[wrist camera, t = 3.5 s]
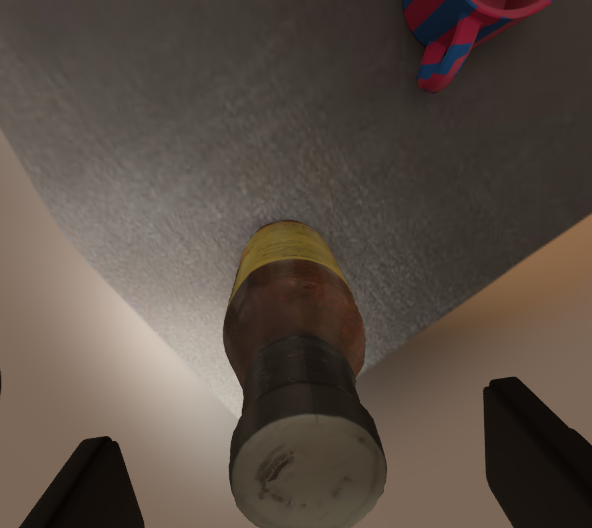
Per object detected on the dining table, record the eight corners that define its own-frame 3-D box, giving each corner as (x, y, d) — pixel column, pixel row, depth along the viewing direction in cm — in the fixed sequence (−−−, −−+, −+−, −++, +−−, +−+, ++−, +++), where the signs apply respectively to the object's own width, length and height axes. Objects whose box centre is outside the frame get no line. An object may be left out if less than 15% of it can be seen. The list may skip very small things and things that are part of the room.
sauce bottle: (228, 240, 28) (112, 418, 9) (307, 201, 28) (360, 303, 8) (270, 316, 30) (246, 603, 11) (345, 281, 29) (462, 517, 10)
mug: (529, -28, 24) (620, -97, 18) (438, 121, 26) (489, 109, 20) (441, -94, 23) (503, -192, 17) (354, 67, 25) (378, 36, 19)
